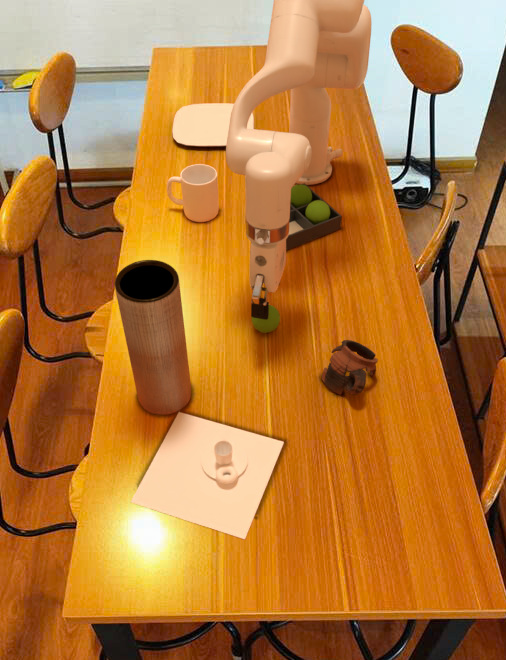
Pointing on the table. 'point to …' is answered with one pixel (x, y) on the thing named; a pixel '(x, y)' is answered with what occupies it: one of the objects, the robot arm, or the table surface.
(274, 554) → the table surface
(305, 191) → the lime back left
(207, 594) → the table surface
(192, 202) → the cup
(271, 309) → the lime
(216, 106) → the plate
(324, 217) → the lime back right
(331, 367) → the pottery mug
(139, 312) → the vase
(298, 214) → the rack
